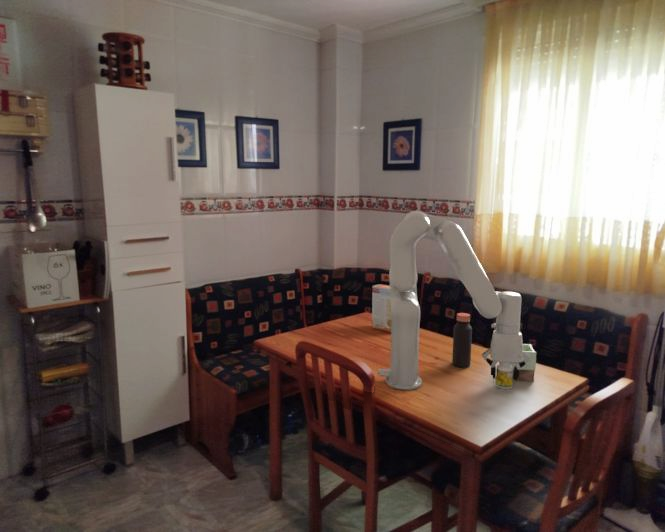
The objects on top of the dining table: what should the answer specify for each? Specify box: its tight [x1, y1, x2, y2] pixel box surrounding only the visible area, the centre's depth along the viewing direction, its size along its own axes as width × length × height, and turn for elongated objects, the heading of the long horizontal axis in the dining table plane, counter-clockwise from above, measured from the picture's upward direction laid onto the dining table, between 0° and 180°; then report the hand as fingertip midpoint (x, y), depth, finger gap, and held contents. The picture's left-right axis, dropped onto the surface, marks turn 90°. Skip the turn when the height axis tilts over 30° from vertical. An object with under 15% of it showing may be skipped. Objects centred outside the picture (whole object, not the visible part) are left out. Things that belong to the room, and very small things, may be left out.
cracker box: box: [371, 283, 392, 333], centre depth 229 cm, size 14×6×21 cm, turn 46°
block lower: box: [513, 369, 536, 382], centre depth 178 cm, size 9×9×4 cm
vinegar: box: [451, 312, 473, 368], centre depth 187 cm, size 7×7×20 cm
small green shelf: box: [511, 343, 537, 371], centre depth 177 cm, size 9×9×6 cm
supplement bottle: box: [495, 362, 514, 390], centre depth 168 cm, size 5×5×10 cm
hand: (504, 377), depth 168 cm, fingers open, 6 cm apart
